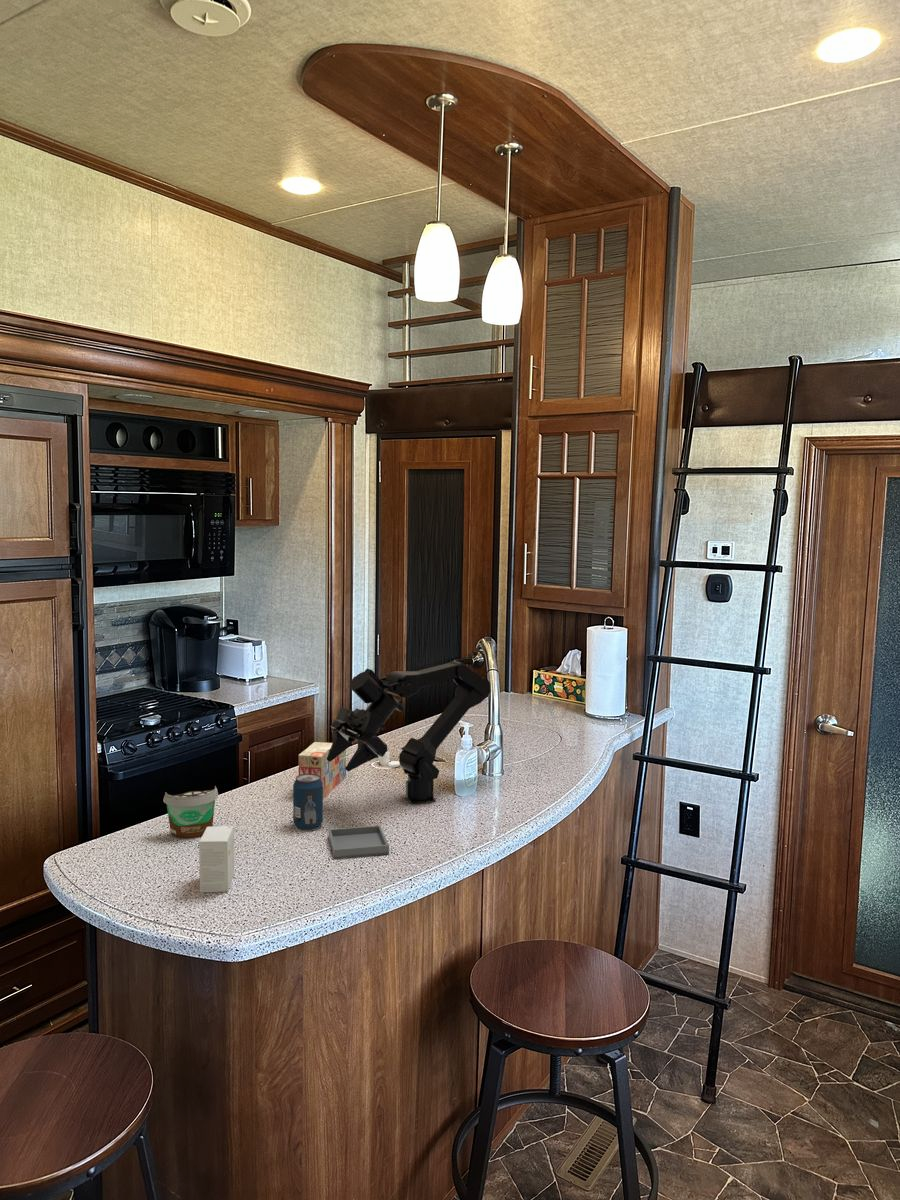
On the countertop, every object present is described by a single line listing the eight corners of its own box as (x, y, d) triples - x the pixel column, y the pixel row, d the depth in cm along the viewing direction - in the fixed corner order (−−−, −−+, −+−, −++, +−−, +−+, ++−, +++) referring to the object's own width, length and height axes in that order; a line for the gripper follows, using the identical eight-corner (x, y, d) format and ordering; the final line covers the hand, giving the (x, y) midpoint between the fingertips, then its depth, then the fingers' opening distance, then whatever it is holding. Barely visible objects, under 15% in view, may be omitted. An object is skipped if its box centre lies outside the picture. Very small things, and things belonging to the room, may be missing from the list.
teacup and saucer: (404, 768, 245) (404, 754, 244) (381, 772, 240) (381, 759, 240) (389, 760, 252) (389, 747, 252) (366, 764, 248) (366, 751, 247)
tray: (380, 833, 194) (380, 825, 194) (389, 854, 182) (389, 845, 182) (328, 837, 191) (328, 829, 191) (334, 858, 180) (334, 850, 179)
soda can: (309, 818, 203) (309, 770, 201) (329, 825, 198) (328, 776, 197) (287, 826, 197) (286, 777, 196) (306, 834, 193) (306, 784, 192)
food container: (168, 844, 186) (167, 801, 185) (163, 834, 192) (162, 792, 190) (224, 835, 192) (223, 793, 191) (218, 826, 197) (217, 785, 196)
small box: (207, 875, 171) (206, 825, 170) (235, 874, 171) (234, 825, 170) (199, 893, 163) (198, 841, 162) (228, 892, 163) (227, 840, 162)
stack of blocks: (325, 775, 237) (325, 732, 235) (346, 776, 236) (346, 734, 234) (298, 800, 216) (298, 754, 214) (321, 802, 215) (321, 755, 213)
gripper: (337, 687, 210) (298, 737, 205) (376, 702, 195) (335, 755, 190) (364, 714, 216) (326, 763, 210) (404, 730, 201) (364, 782, 195)
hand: (337, 765), depth 201 cm, fingers open, 9 cm apart
